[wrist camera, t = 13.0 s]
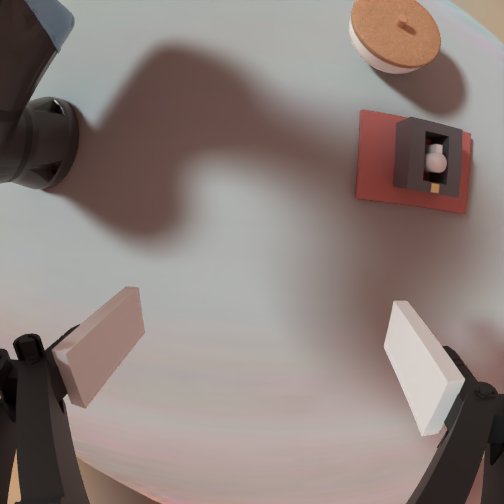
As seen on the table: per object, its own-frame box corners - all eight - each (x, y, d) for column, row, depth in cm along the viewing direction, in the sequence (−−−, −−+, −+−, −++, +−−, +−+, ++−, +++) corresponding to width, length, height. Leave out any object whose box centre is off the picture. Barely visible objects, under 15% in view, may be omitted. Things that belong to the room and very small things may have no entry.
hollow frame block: (396, 123, 32) (411, 116, 27) (443, 133, 31) (463, 129, 26) (392, 186, 34) (407, 189, 29) (440, 194, 33) (459, 198, 28)
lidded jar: (427, 82, 31) (459, 63, 22) (354, 86, 33) (371, 62, 24) (404, 16, 28) (427, -15, 19) (332, 16, 30) (341, -19, 21)
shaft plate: (355, 197, 36) (367, 203, 30) (359, 111, 33) (373, 100, 27) (461, 212, 35) (486, 220, 28) (466, 134, 32) (492, 130, 25)
